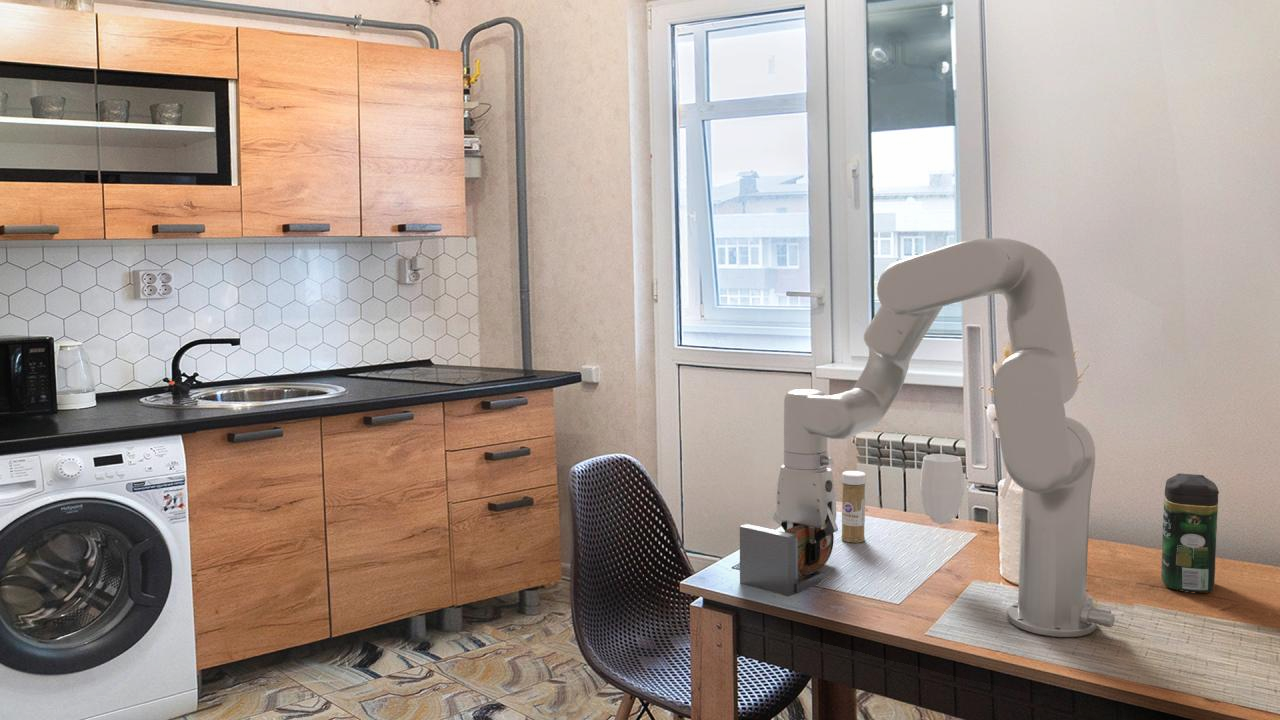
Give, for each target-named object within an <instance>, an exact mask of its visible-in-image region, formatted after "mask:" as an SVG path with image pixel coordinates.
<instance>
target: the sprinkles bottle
mask: <svg viewBox="0 0 1280 720" xmlns="http://www.w3.org/2000/svg"><path fill="white" fill-rule="evenodd" d="M841 482H842V502H841V503H842V507H841V541H844V542H847V543H850V542H851V544H852V543H853V544H857V543H859V544H860V543H862V542H865V540H866V539H865V538H866V537H865V524H866V523H865V521H866V519H865V518H866V514H865V513H866V483H867V475H866V472H863V471H859V470H845V471H843V472H842V473H841Z"/></svg>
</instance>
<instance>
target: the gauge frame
mask: <svg viewBox="0 0 1280 720" xmlns="http://www.w3.org/2000/svg"><path fill="white" fill-rule="evenodd" d="M821 581H822V582H823V581H824V572H822V571H820V570H818V571H817V570H815V571H814V570H813V571H811V572H809V573H807V574H805V575H802V576H800V577H798V579H797V580H795V534H791V533H786V532H785V531H782V530H781V531H780V530H777V529H772V528H767V527H763V526H758V525H755V524H749V523H745V524H742V525H739V583H740V584H742V585H747V586H750V587H755V588H757V589H761V590H765V591H769V592H773V593H775V594H780V595H783V596H787V597H789V596H792V595H794V594H798V593H801V592H802V591H805V590H807V589H809V588H811V587H813V586H815V585H817V584H820V583H821Z"/></svg>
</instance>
